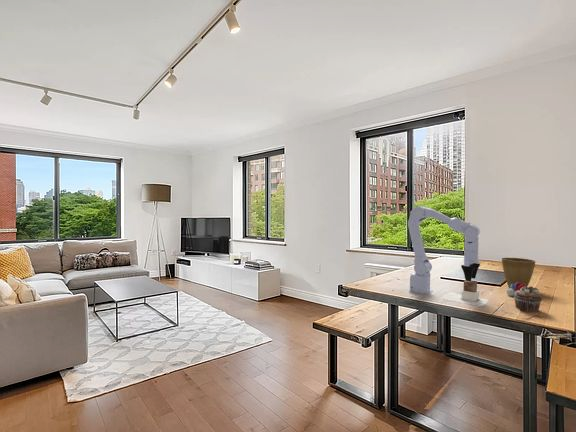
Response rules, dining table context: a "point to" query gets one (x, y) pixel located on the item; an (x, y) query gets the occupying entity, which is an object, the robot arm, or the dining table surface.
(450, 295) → the felt mat
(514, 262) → the plant pot
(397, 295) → the dining table surface
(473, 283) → the walnut cube
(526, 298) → the cupcake
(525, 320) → the dining table surface
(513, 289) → the multicoloured rounded cluster
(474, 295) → the base block
